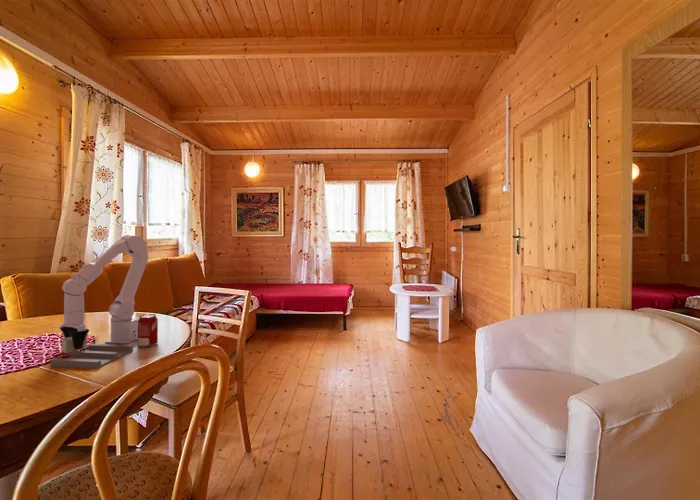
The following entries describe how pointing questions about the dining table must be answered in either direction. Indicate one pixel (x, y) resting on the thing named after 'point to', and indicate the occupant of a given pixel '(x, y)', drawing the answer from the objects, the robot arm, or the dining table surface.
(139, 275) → the robot arm
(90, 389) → the dining table surface
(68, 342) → the plug block
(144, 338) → the soda can
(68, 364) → the ribbed grey tray
